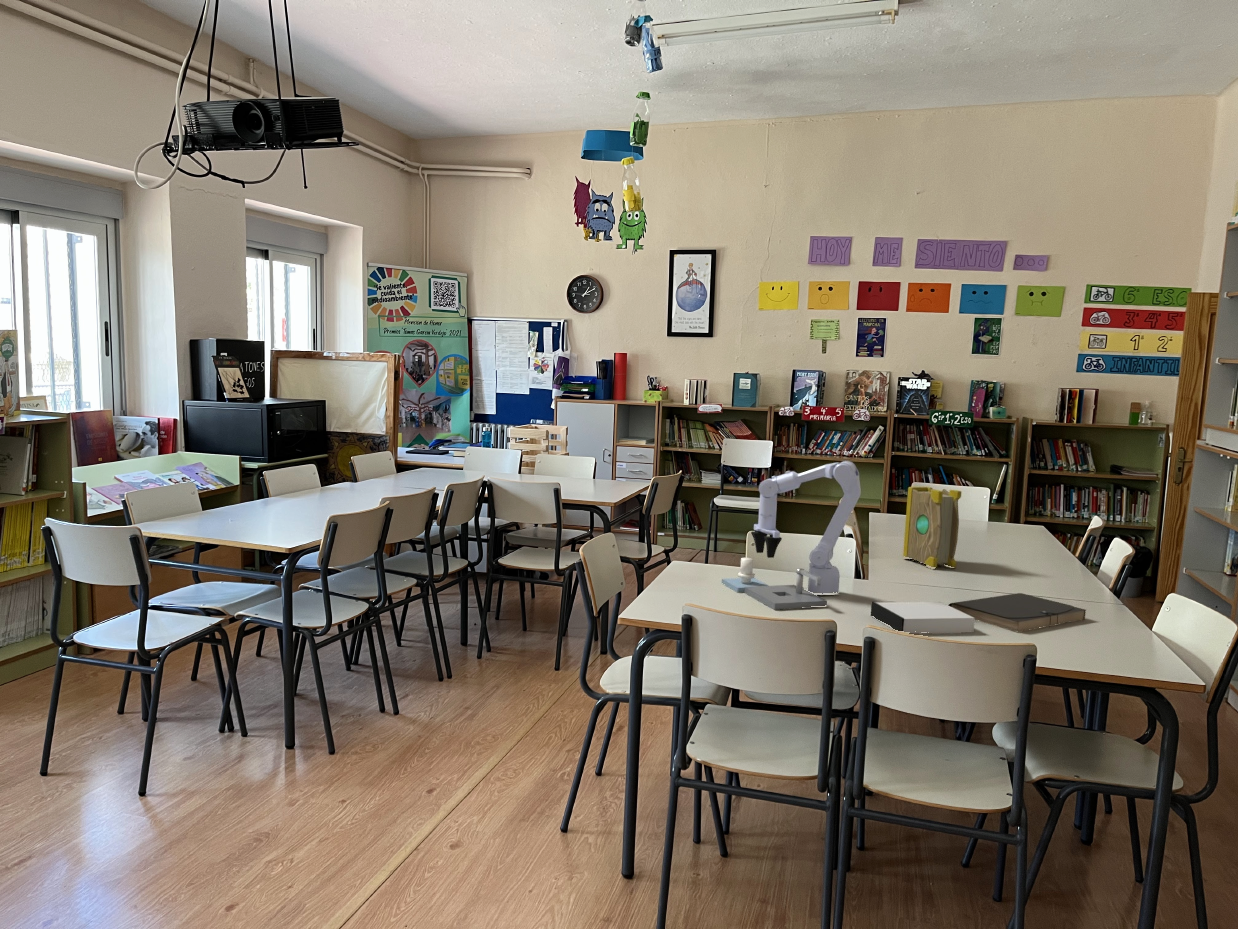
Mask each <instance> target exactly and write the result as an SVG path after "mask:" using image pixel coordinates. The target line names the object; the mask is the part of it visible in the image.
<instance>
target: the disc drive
mask: <svg viewBox="0 0 1238 929" xmlns="http://www.w3.org/2000/svg"><path fill="white" fill-rule="evenodd" d="M870 604H871V605H870V606H871V607H870V617H871V616H874V617H875V618H876V619H878V620H880V621H882V622H884V623H886V624H888V625H890V626H891V627H892V628H893V629H895V630H898V631H904V632H910V633H919V634H920V635H922V633H921V632H927V633H928V632H929V633H932V634H962V633H961V632H973V633H974V632H975V631H974V630H975V629H974V628H975V618H974V617H972V616H969V615H967V614H965V613H963V612H961V611H959V610H957V609H955V608H952V607H950V606H948V605H949V604H946V603H943V602H941V601H907V602H906V601H905V602H904V601H903V602H901V601H900V602H897V601H895V602H894V601H893V602H888V601H887V602H884V601H883V602H875V601H871V603H870ZM875 618H874V619H875ZM876 619H875V620H876ZM878 620H877V621H878ZM880 621H879V622H880ZM893 629H892V630H893ZM895 630H894V631H895ZM915 631H916V632H915Z"/></svg>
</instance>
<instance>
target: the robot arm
mask: <svg viewBox="0 0 1238 929" xmlns="http://www.w3.org/2000/svg"><path fill="white" fill-rule="evenodd" d="M820 478H828V479H835V480H836V482H837V483H838V484H839V485H840V487H841V489H842V492H843V493H844V494H843V496H842V498H841V500H840V502H839V504H838V505H837V507H836V509H835V512H834V514H833V516H832V518H831V520H830V521H829V524H828V525H827V527H826V529H825V531H824V534H823V536H821V539H820V540H819V542H818V544H817V545H815V547H814V549H812V550H811V551H810V553H809V554H808V555H809V556H808V558H809V561H810V563H809V564H808V566H809V569H808V572H810V573H812V574H815V575H817V576H819V577H821V585H820V586H816V585H815V581H816V580H813V579H811V578H809V577H808V580H807V581H808V582H807V588H808V591H810V592H813V593H822V594H823V593H833V592H834V593H836V592H837V593H838V592H839V591H840V576H841V574H840V570H839V568H838V567H837V566H835V565H833V564H832V563H831V560H832V559H833V557H834V548H835V547H836V543H837V541H838V540H839V538H840V536H841V534H842V532H843V530H844V529H845V526H846V523H847V522H848V520H849V518H850V516H851V515H852V513H853V511H854V509H855V506H856V505H857V503H858V501H859V499H860V497H861V494H862V490H861V482H860V472H859V470H858V468H857V466H856V464H855V463H854V462H852V461H851V460H850V461H849V460H843V461H841V462H839V461H838V462H833V463H832V462H831V463H826V464H824V465H820V466H818V467H815V468H812V469H811V468H810V469H809V470H807V471H804V472H800V473H797V472H796V471H790V470H787V471H785V473H783V474H780V475H773V476H771V478H767V479H765V480H762V481H761V482H760V483H759V485H758V492H759V502H758V503H759V504H758V521H757V523H754V524H753V530H754V531H751V536H752V538H753V542H754V546H755V551H756V553H757V554H763V553H764V551H765V550H764V549H765V545H766V557H767V558H768V559H769V558H770V559H772V558H773V559H774V557H775V555H776V552H777V548H778V546H779V544H780V543H781V542H782V539H783V538H782V537H781V532H780V531H779V530H778V529H777V527H776V526H777V524H776V523H777V522H776V521H777V509H778V508H777V506H778V505H777V504H778V501H777V500H778V494H782V493H783V494H784V493H786V492H789V491H792V490H796V489H799V488H800V486H801V484H802V483H806V482H809V481H813V480H816V479H820ZM839 593H840V592H839Z"/></svg>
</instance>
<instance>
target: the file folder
mask: <svg viewBox="0 0 1238 929" xmlns="http://www.w3.org/2000/svg"><path fill="white" fill-rule="evenodd" d="M947 605H948V606H950V607H952V608H955V609H957V610H959V611H961V612H963V613H965V614H967V615H969V616H972V617H974V618H975V619H974V621H978V620H979V622H982V623H986V624H989V625H992V626H996V627H998V626H999V628H1002V627H1004V628H1003V629H1005V628H1008V629H1010V630H1009V631H1012V630H1014V631H1013V632H1015V631H1022V632H1026V631H1025V630H1028V631H1030V630H1029V629H1033V630H1035V629H1034V628H1039V627H1043V626H1046V627H1049V628H1051V626H1048V625H1052V626H1056V625H1055V624H1058V625H1060V624H1059V623H1062V624H1065V623H1064V622H1067V623H1070V622H1069V621H1072V622H1078V621H1077V620H1081V621H1085V620H1086V614H1087V612H1086V611H1087V609H1085V608H1080V607H1077V606H1074V605H1071V604H1067V603H1063V602H1058V601H1055V600H1051V599H1047V598H1043V597H1038V596H1034V595H1030V594H1027V593H1022V592H1018V593H1010V594H1005V595H1004V594H1003V595H997V596H996V595H995V596H990V597H983V598H977V599H970V600H969V599H968V600H964V601H963V600H962V601H955V602H951V603H948V604H947ZM1043 628H1044V627H1043ZM1008 629H1007V630H1008ZM1039 629H1040V628H1039Z"/></svg>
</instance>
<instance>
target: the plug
mask: <svg viewBox="0 0 1238 929" xmlns="http://www.w3.org/2000/svg"><path fill="white" fill-rule="evenodd" d="M753 569H754V558H751V557H741V558H740V571H739V572H738V573H737V578H741V583H744V584H750V583H751V579H752V578H755V573H753Z"/></svg>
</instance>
